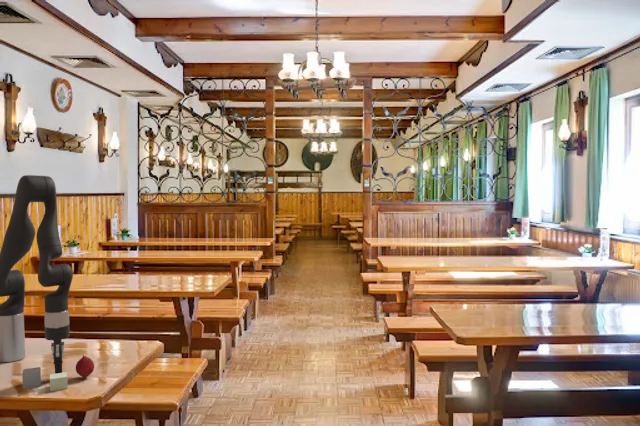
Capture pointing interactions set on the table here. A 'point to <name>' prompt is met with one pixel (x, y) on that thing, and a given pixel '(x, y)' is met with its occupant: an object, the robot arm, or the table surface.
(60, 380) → the sage block
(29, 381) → the slate block
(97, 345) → the table surface
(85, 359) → the onion
